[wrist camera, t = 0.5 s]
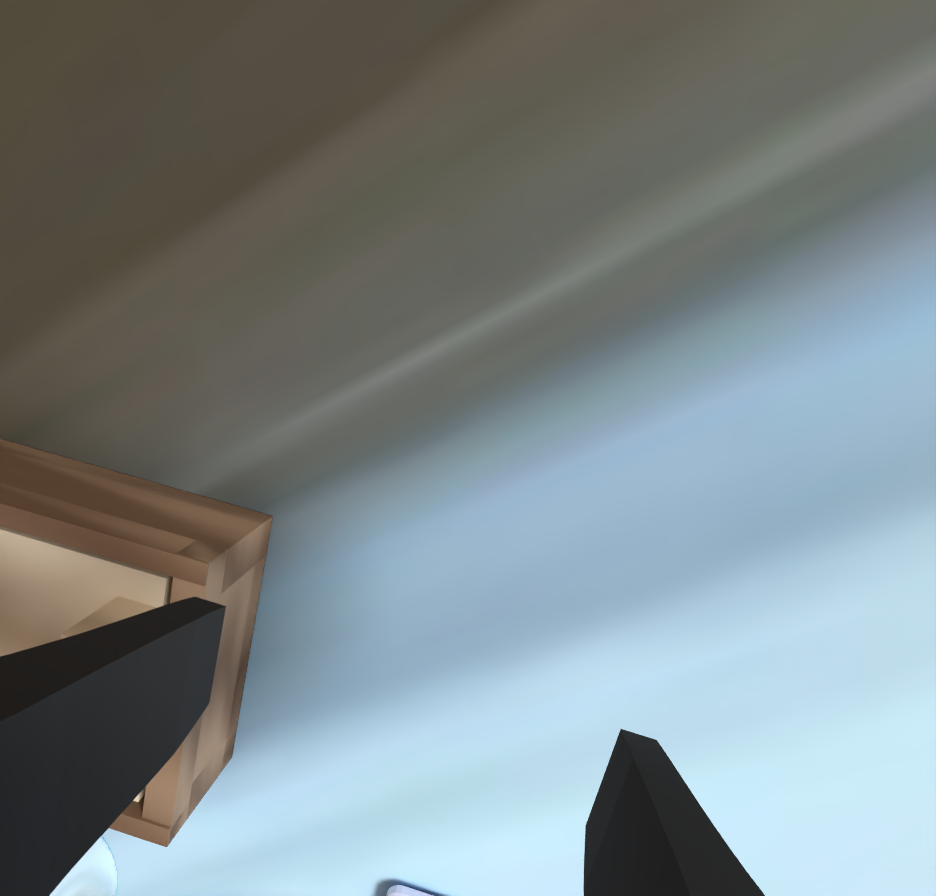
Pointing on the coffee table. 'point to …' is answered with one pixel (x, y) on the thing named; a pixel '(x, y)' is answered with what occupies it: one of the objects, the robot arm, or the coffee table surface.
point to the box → (194, 575)
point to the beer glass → (91, 874)
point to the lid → (67, 592)
